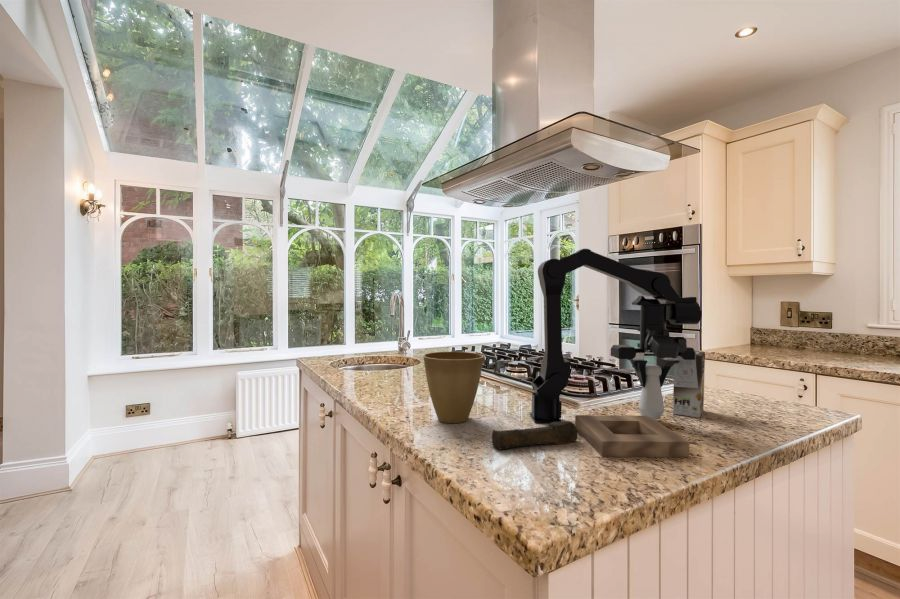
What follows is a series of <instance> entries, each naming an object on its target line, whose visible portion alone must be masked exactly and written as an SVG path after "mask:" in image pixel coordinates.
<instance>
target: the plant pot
mask: <svg viewBox="0 0 900 599" xmlns="http://www.w3.org/2000/svg"><path fill="white" fill-rule="evenodd" d="M423 362H424V371H425V377H426V382H427V383H426V384H427V388H428V391H429V396H430V399H431V403H432V406H433V409H434V412H435V414H436V417H437V420H438V421H440V422H442V423H446V424H460V423H464V422H467V421H468V419H469V417H470V414H471V411H472V409H473V405H474V402H475V399H476V396H477V392H478V389H479V384H480V380H481V375H482V368H483V363H484V355H483V354H481V353H477V352H476V353H475V352H469V351H467V352H466V351H435V352H433V351H432V352H429V353H427V352H426V353H425V354H423Z"/></svg>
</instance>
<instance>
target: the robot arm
mask: <svg viewBox="0 0 900 599" xmlns="http://www.w3.org/2000/svg"><path fill="white" fill-rule="evenodd" d="M581 267H585V268H588V269H590V270H593V271H595V272H597V273H600V274H602V275H605V276H608V277H610V278H612V279H615V280H618V281H620V282H623V283H625V285H628V286H629V287H630V288H631V289H633V290H634V291H635V292H638V293H639V294H641V295H638V296H637V298H636V299H635V300H633V301H632V302H631V305H633V306H640V312H639V313H640V315H639V316H640V317H639V318H640V320H639V322H640V324H639V326H638V327H637V331H638V332H639V342H637V344H636V345H637V347H635V346H631V345H628V344H613V345H612V346H611V348H610V356H611V357H614V358H616V359H619V360H627V361H629V362H630V363H631V365H632V367H633V369H634V371H635V373H636V376H637V378H638V381H639V383H640V385H641V387H642V388H643V387H645V384H646V373H645V366H646V365H647V363H648V360H646V359H645V357H656V365H658V366H660V367H661V369H662V374H661V375H659V380H660V386H661V388H662V387H663V384H664V382H665V380H666V379H667V375H668V373H669V371H670V370H671V369H672V367H674V364H676V363H679V362H680V361H678V360H677V356H680V357H681V358H682V359H684V360H696V352H695V351H696V350H695V349H694V347H691V346H687V345H688V344H687V343H688V342H687V339H686V337H684V336H675V337H671V336H670V331H669V330H670V329H669V328H667V321H668V323H669V324H670V325H698V324H699V323H700V321H701V319H702V312H703V311H702V310H701V306H700V304H699V303H698V301H697V297H696V296H684V297H680V296H679V295H678V293H677V292H676V290H675V289H674V288H673V286H672V285H671V284H672V283H671V280H670V277H669V276H668V274H665V273H664V272H659V271H654V270H647V269H640V268H635V267H633V266H631V265H628V264H625V263H622V262H621V261H617V260H615V259H612V258H610V257H607V256H604V255H602V254H599V253H597V252H595V251H592V250H591V249H590V248H581V249H578V250H577V251H576V252H574V253H571V254H569V255H567V256H565V257H562V258H560V259H558V258H551V259H547V260H545V261H543V262H541V264H539V265H538V268H537V277H538V280H539V286H540V289H541V291H542V296H543V320H544V321H543V323H544V324H543V325H544V326H543V327H544V328H543V329H544V330H543V331H544V332H543V334H544V354H543V356H542V360H541V365H540V370H539V375H537V377H536V378H535V379H533V380H532V381H531V382H530V384H531V387H532V390H533V392H531V412H530V413H529V416H530V417H531V419H532V421H533V422H534V423H537V424H538V423H549V424H550V423H552V422H559V421H560V422H562V420H561V418H562V401H561V400H560V397H561V394H562V391H563V390H565V388H567V386H568V385H569V379H572V375H571V364H572V362H571V361H570V360H569V359H567V358H566V357H564V355H563V341H562V339H563V338H562V336H563V334H562V333H563V332H562V331H563V330H562V294H563V290H564V287H565V284H566V275H567V274H569V273H571V272H573V271H575V270H577V269H579V268H581ZM645 296H646V297H651V298H646V297H645ZM660 301H665V303H663V302H660Z"/></svg>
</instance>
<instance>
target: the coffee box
mask: <svg viewBox="0 0 900 599" xmlns="http://www.w3.org/2000/svg"><path fill="white" fill-rule="evenodd" d="M695 352H696V360H684V359H682V358H681V357H680V356H677V360H678V361H680V362H679V363H676V364H674V365H673V393H672V394H673V397H672V399H673V400H672V414H674V415H679V416H686V417H692V418H698V419H699V418H701V415H702V414H703V412H704V405H705V404H704V402H705V400H704V399H705V362H706V361H705V360H706V358H705V357H706V353H705V351H699V350H697V351H696V350H695Z"/></svg>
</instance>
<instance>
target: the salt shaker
mask: <svg viewBox="0 0 900 599" xmlns="http://www.w3.org/2000/svg"><path fill="white" fill-rule="evenodd" d="M645 373H646V384H645V387H642V388H641V393H640V396H639V402H638V410H639V412H640V416H649V417H651V418H652V419H654V420H655V421H657V420H661V417H662V416H663V415H664V412H665V405H664V399H663V392H662V387H661V386H660V380H659V375H661V374H662V369H661V367H660V366H658V365H657V364H651V363H650V364H649V363H648V364H646V366H645Z"/></svg>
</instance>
